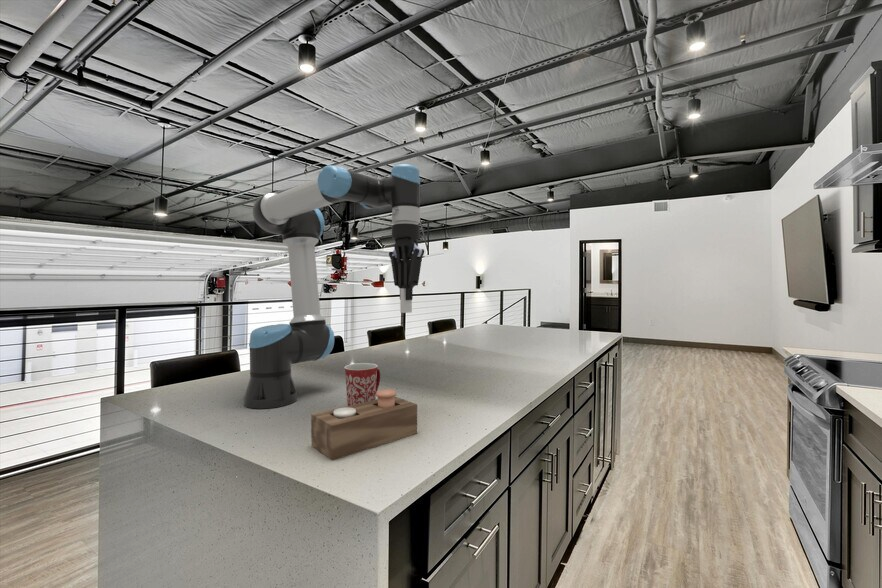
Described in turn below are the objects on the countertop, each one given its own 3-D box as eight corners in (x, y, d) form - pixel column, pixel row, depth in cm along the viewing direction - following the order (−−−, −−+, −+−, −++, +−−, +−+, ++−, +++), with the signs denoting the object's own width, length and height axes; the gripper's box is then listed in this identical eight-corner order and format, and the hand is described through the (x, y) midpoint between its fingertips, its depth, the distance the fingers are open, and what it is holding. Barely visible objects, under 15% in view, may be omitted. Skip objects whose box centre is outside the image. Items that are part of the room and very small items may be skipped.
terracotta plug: (372, 418, 94) (372, 391, 94) (389, 414, 97) (388, 388, 97) (383, 423, 90) (383, 395, 90) (400, 419, 94) (400, 391, 94)
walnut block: (311, 445, 87) (311, 414, 86) (393, 422, 101) (393, 395, 101) (332, 460, 79) (332, 425, 79) (417, 433, 94) (417, 404, 94)
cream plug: (329, 440, 87) (329, 410, 87) (349, 434, 90) (349, 406, 90) (340, 446, 83) (339, 415, 83) (360, 440, 86) (359, 410, 86)
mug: (363, 422, 102) (363, 370, 102) (337, 416, 106) (337, 367, 106) (392, 409, 113) (391, 362, 113) (367, 404, 117) (367, 359, 117)
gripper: (380, 226, 107) (380, 312, 107) (409, 219, 97) (409, 314, 98) (402, 228, 112) (403, 311, 112) (432, 223, 102) (432, 313, 103)
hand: (406, 312), depth 105 cm, fingers closed
